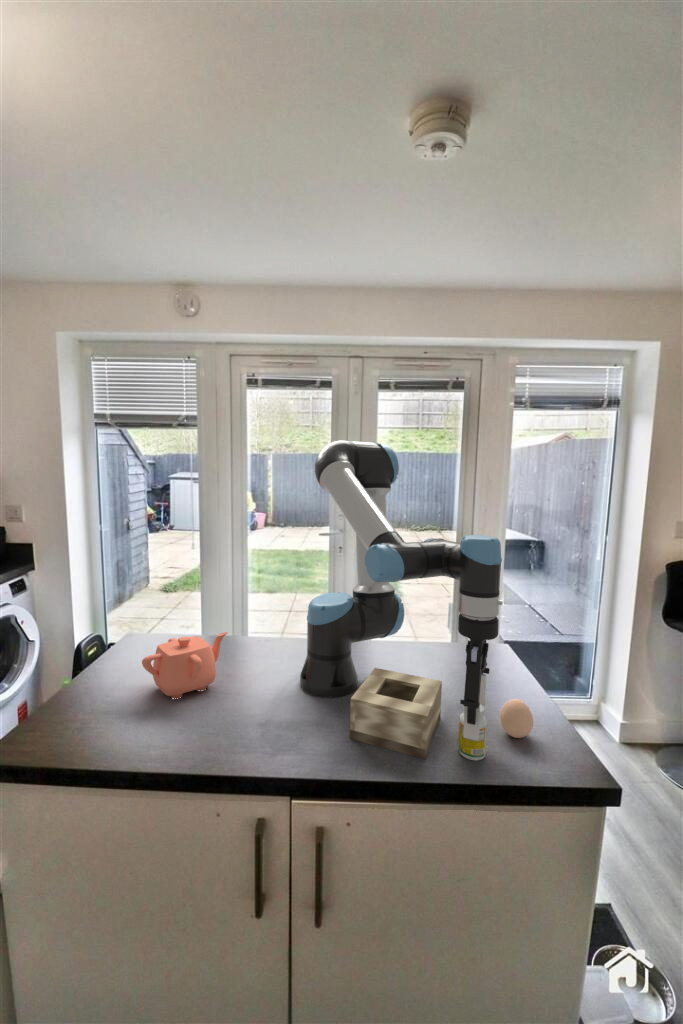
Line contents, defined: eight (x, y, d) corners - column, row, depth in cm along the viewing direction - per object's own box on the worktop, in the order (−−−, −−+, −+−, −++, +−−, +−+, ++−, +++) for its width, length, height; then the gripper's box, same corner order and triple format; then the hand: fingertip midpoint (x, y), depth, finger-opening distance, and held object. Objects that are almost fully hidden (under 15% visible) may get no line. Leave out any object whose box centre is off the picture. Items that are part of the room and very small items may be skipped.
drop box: (349, 738, 90) (350, 698, 90) (374, 702, 105) (375, 667, 104) (425, 759, 84) (427, 716, 83) (440, 718, 99) (441, 681, 98)
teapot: (139, 702, 103) (138, 649, 102) (167, 672, 118) (167, 626, 117) (209, 705, 102) (209, 651, 101) (228, 674, 118) (228, 628, 117)
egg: (515, 748, 88) (517, 711, 88) (492, 730, 94) (494, 695, 94) (539, 740, 91) (541, 704, 90) (515, 724, 97) (517, 690, 96)
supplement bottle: (479, 765, 83) (481, 717, 82) (453, 753, 86) (455, 707, 85) (489, 751, 87) (492, 706, 86) (464, 741, 90) (466, 697, 90)
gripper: (495, 638, 71) (490, 761, 73) (501, 601, 94) (498, 695, 96) (448, 631, 74) (445, 750, 76) (466, 597, 97) (463, 688, 99)
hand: (474, 719), depth 86 cm, fingers open, 13 cm apart
